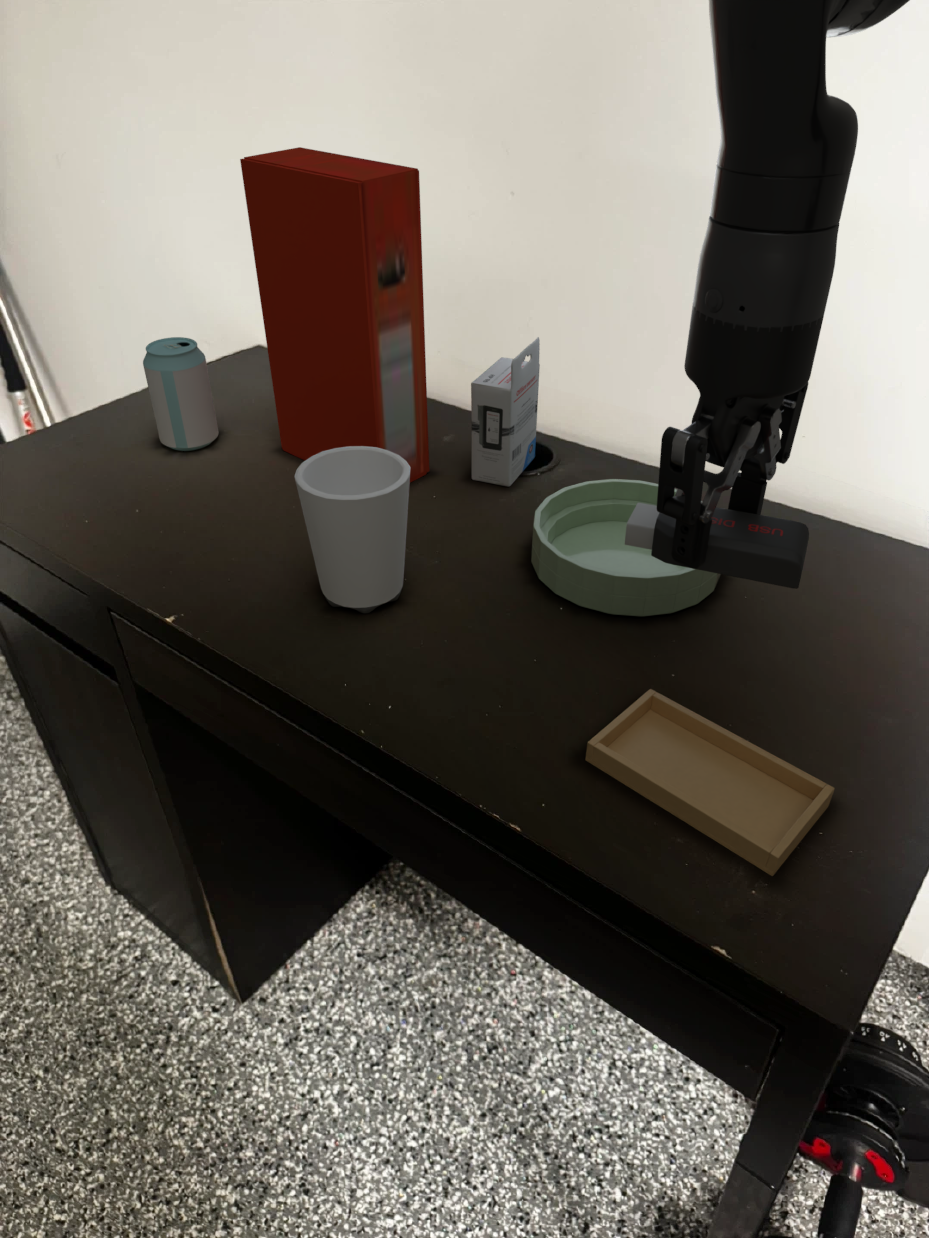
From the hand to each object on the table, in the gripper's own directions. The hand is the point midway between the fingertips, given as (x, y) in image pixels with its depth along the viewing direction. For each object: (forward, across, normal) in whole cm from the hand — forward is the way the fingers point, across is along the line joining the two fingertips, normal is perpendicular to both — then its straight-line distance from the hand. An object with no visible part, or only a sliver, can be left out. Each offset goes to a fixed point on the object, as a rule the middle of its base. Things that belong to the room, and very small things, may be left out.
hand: (715, 542), depth 62 cm
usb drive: (+1, 0, 0) cm, 1 cm away
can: (+14, -2, +70) cm, 72 cm away
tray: (+15, -6, -6) cm, 17 cm away
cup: (+15, -8, +30) cm, 35 cm away
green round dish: (+15, +13, +16) cm, 25 cm away
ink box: (+15, +20, +38) cm, 45 cm away
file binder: (+14, +8, +52) cm, 54 cm away
